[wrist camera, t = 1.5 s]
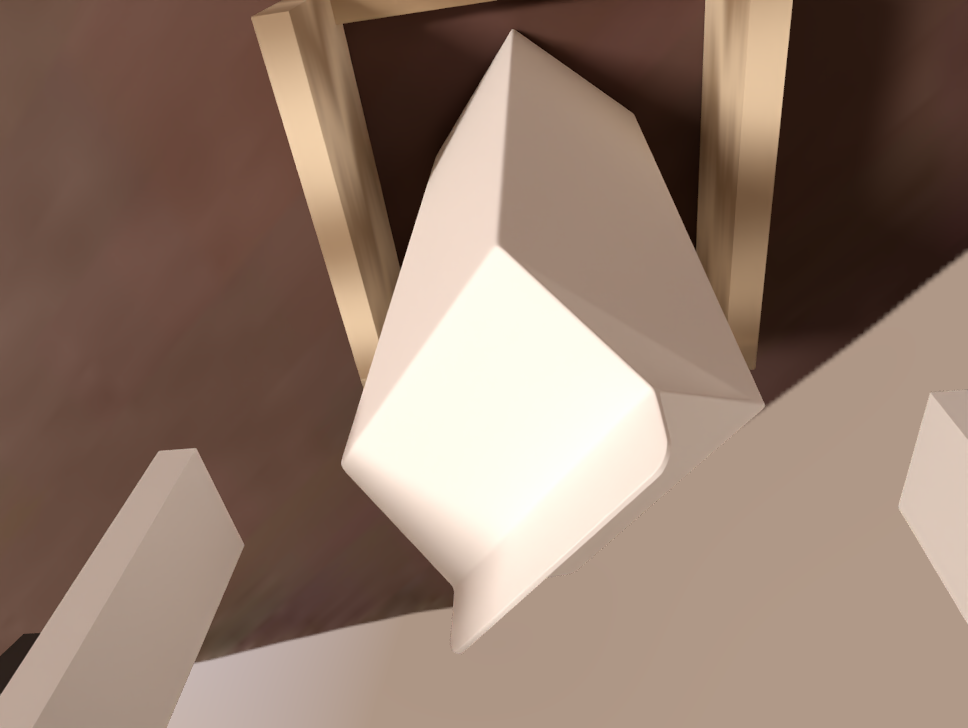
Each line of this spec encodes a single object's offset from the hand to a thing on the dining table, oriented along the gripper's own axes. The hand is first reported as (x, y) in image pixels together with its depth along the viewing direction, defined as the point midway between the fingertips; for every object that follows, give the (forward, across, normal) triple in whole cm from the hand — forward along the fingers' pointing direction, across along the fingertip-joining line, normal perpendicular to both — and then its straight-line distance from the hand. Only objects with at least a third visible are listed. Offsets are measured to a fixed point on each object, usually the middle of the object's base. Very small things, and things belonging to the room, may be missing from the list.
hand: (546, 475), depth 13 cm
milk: (+20, 0, 0) cm, 20 cm away
